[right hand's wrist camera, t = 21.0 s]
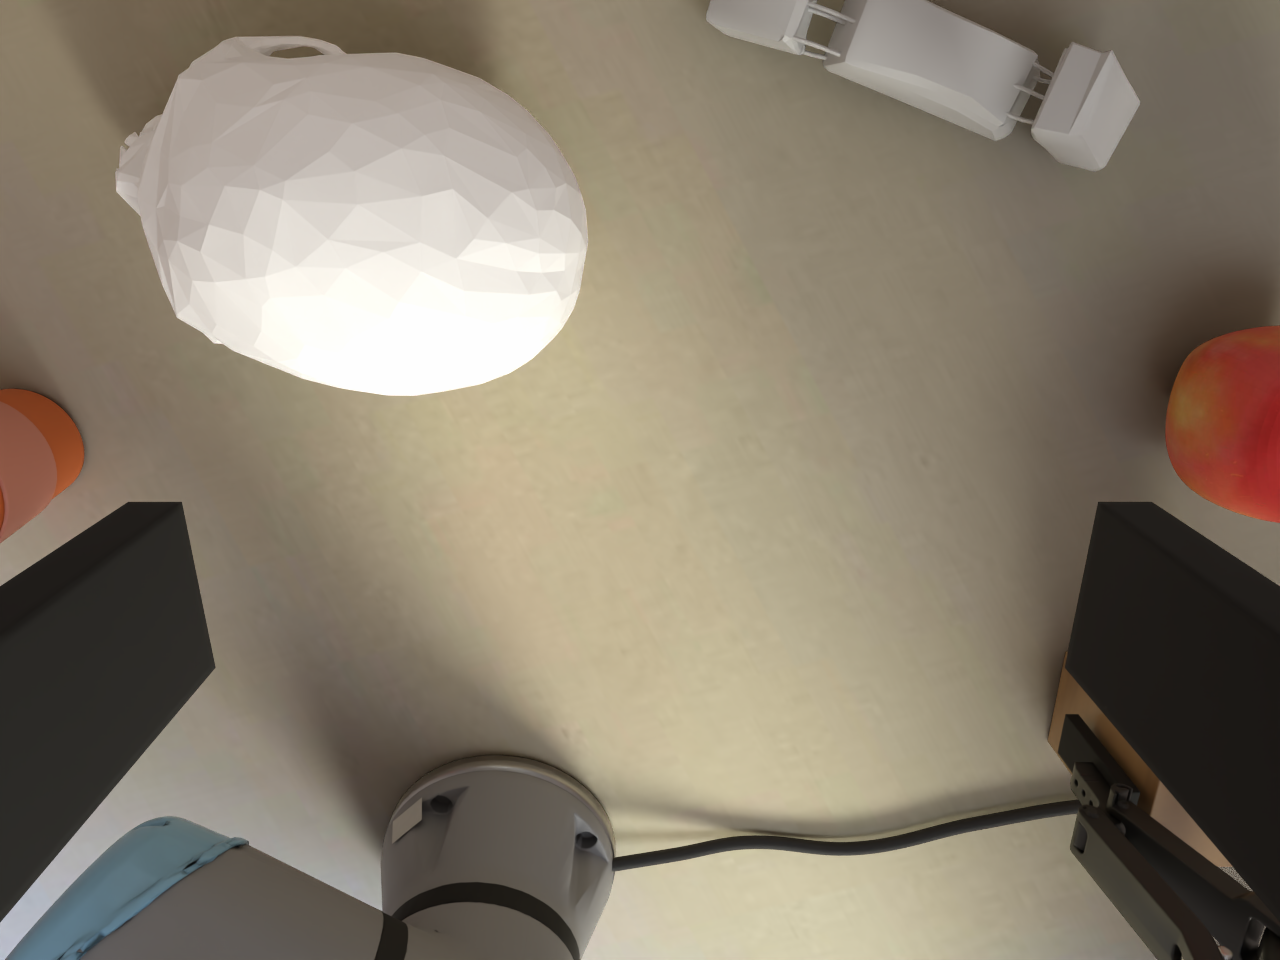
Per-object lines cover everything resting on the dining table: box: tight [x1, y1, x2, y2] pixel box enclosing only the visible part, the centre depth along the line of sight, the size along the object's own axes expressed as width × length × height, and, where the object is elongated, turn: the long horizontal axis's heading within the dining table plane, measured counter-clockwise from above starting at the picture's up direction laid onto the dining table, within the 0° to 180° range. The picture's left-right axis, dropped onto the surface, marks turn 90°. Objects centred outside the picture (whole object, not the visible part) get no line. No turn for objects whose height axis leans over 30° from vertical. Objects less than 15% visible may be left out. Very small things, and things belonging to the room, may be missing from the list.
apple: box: [1165, 326, 1280, 523], centre depth 41 cm, size 10×10×10 cm
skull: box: [115, 36, 588, 396], centre depth 35 cm, size 13×22×16 cm, turn 83°
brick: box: [1048, 651, 1233, 867], centre depth 48 cm, size 6×7×10 cm
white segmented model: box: [706, 0, 1140, 172], centre depth 38 cm, size 20×4×7 cm, turn 71°
